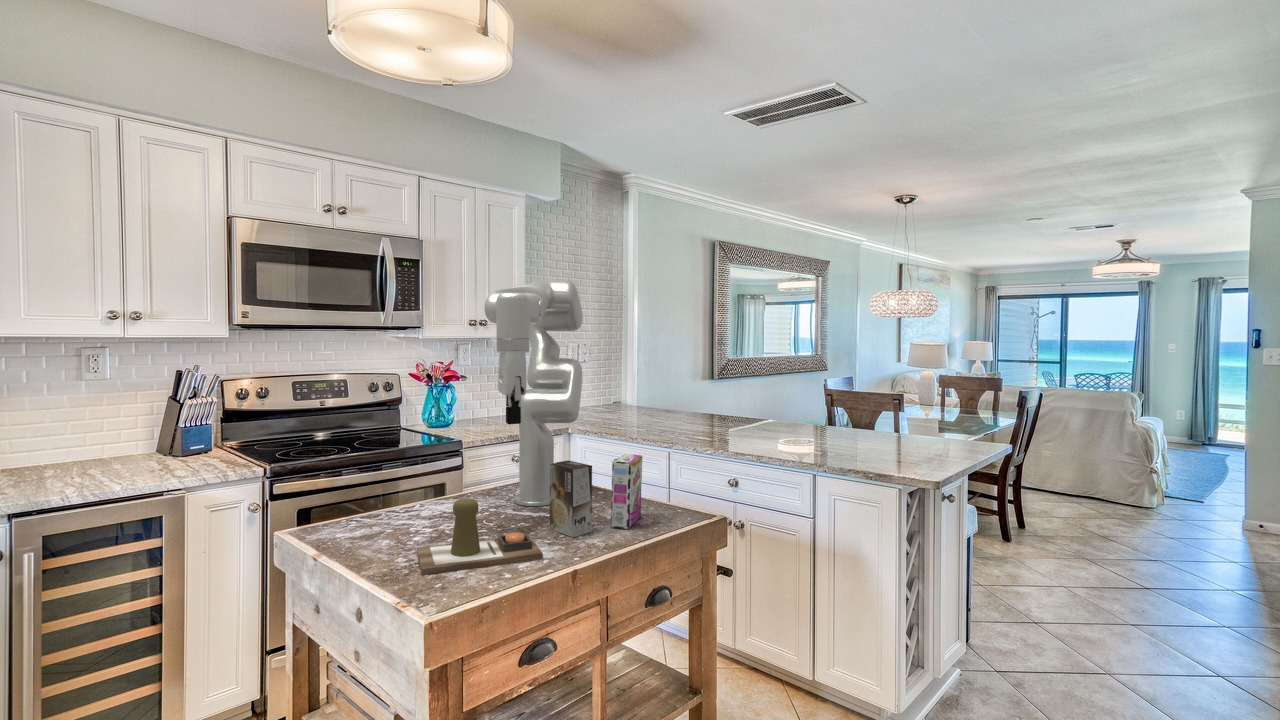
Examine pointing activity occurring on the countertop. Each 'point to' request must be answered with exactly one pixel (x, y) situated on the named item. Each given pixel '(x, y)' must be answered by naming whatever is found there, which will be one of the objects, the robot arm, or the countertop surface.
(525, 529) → the countertop surface
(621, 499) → the candy bar box
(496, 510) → the countertop surface
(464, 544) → the olive pawn
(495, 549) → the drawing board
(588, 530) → the coffee box
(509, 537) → the button
